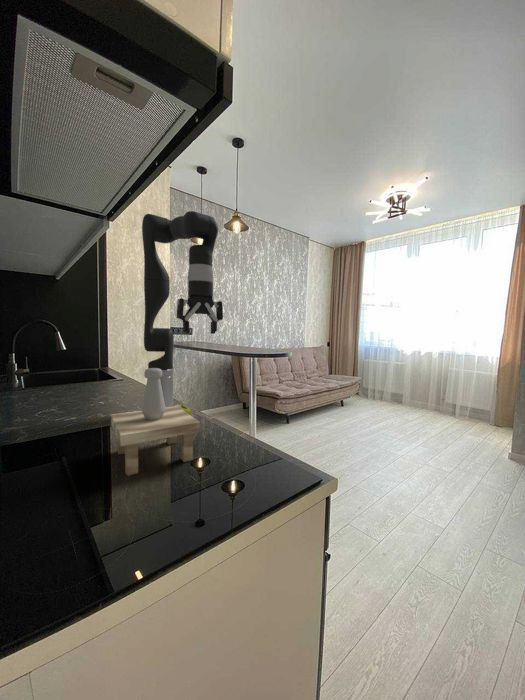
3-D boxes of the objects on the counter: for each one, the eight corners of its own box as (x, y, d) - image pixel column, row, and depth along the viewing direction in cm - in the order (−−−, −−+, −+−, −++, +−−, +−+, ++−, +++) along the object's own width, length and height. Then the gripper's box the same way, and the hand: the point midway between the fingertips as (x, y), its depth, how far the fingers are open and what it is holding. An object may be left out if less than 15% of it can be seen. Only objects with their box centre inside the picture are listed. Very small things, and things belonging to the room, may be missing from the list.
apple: (159, 429, 92) (165, 398, 95) (174, 429, 100) (179, 400, 102) (180, 433, 90) (186, 401, 92) (194, 433, 97) (199, 403, 99)
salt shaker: (136, 419, 75) (136, 368, 74) (155, 413, 79) (154, 366, 79) (151, 423, 72) (151, 370, 71) (170, 417, 76) (170, 368, 76)
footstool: (111, 450, 79) (110, 414, 78) (177, 438, 89) (177, 405, 88) (121, 480, 64) (120, 435, 63) (199, 460, 74) (199, 422, 73)
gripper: (181, 277, 83) (181, 333, 84) (226, 282, 91) (226, 334, 92) (174, 280, 89) (174, 333, 91) (217, 284, 97) (216, 333, 98)
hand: (200, 333), depth 91 cm, fingers open, 8 cm apart
